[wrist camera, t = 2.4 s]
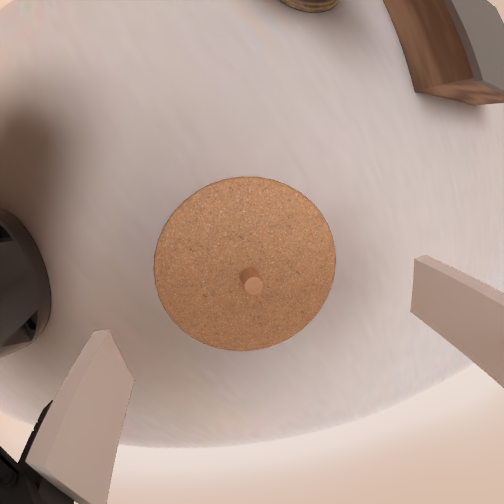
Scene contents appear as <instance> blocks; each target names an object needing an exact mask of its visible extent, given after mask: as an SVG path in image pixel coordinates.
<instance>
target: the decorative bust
mask: <svg viewBox="0 0 504 504" xmlns="http://www.w3.org/2000/svg"><path fill="white" fill-rule="evenodd" d="M281 1H282V2H284V3H285V4H286V5H288V6H290V7H293V8H296V9H299V10H302V11H306V12H322V11H326V10H329V9H331V8H333V7H335V5H336V4H337V3H338V0H281Z"/></svg>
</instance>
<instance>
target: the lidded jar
mask: <svg viewBox="0 0 504 504" xmlns="http://www.w3.org/2000/svg"><path fill="white" fill-rule="evenodd" d="M335 265H336V256H335V246H334V241H333V237H332V234H331V231H330V229H329V226H328V224H327V222H326V220H325V219H324V217H323V215H322V214H321V212H320V211H319V210H318V209H317V207H316V206H315V205H314V204H313V203H312V202H311V201H310V200H309V199H308V198H307V197H305V196H304V195H303V194H302V193H300V192H299V191H297V190H295V189H294V188H292V187H290V186H288V185H286V184H283V183H281V182H278V181H275V180H271V179H266V178H260V177H236V178H230V179H224V180H221V181H218V182H215V183H212V184H210V185H208V186H206V187H204V188H202V189H200V190H199V191H197V192H195V193H194V194H193V195H191V196H190V197H189V198H188V199H186V200H185V201H184V202H183V203H182V204H181V205H180V206H179V207H178V208H177V209H176V210H175V211H174V212H173V214H172V215H171V217H170V218H169V220H168V221H167V223H166V224H165V226H164V228H163V230H162V232H161V235H160V237H159V239H158V243H157V247H156V251H155V255H154V278H155V285H156V288H157V292H158V295H159V298H160V300H161V302H162V304H163V306H164V308H165V310H166V311H167V313H168V314H169V316H170V317H171V318H172V320H173V321H174V322H175V323H176V324H177V325H178V326H179V327H180V328H181V329H182V330H183V331H185V332H186V333H187V334H189V335H190V336H191V337H193V338H195V339H197V340H199V341H200V342H202V343H204V344H207V345H210V346H213V347H216V348H220V349H225V350H233V351H249V350H257V349H262V348H267V347H270V346H272V345H275V344H278V343H280V342H282V341H284V340H286V339H288V338H290V337H292V336H293V335H295V334H296V333H297V332H299V331H300V330H301V329H303V328H304V327H305V326H306V325H307V324H308V323H309V322H310V321H311V320H312V319H313V318H314V317H315V315H316V314H317V313H318V312H319V310H320V309H321V307H322V305H323V304H324V302H325V301H326V298H327V296H328V294H329V291H330V289H331V286H332V282H333V279H334V274H335Z"/></svg>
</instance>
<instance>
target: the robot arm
mask: <svg viewBox="0 0 504 504" xmlns="http://www.w3.org/2000/svg"><path fill="white" fill-rule="evenodd" d="M50 305H51V298H50V287H49V282H48V277H47V273H46V269H45V266H44V263H43V260H42V258H41V255H40V253H39V251H38V248H37V246H36V244H35V243H34V241H33V239H32V237H31V236H30V234H29V233H28V231H27V230H26V228H25V227H24V226H23V225H22V224H21V222H20V221H19V220H18V219H17V218H15V217H14V216H13V215H12V214H10V213H9V212H7V211H5V210H2V209H0V358H1V357H3V356H5V355H7V354H10V353H12V352H14V351H17V350H19V349H21V348H23V347H26V346H28V345H29V344H30V343H32V342H33V341H34V340H35V339H36V338H37V336H38V335H39V334H40V333H41V332H42V330H43V329H44V328H45V326H46V324H47V321H48V318H49V314H50ZM410 312H411V313H413V314H414V315H415V316H417V317H418V318H419V319H421V320H422V321H423V322H424V323H426V324H427V325H428V326H430V327H431V328H432V329H433V330H435V331H436V332H437V333H439V334H440V335H441V336H442V337H444V338H445V339H446V340H447V341H449V342H450V343H451V344H452V345H454V346H455V347H456V348H457V349H458V350H460V351H461V352H462V353H463V354H465V355H466V356H467V357H468V358H469V359H471V360H472V361H473V362H474V363H475V364H477V365H478V366H479V367H480V368H481V369H483V370H484V371H485V372H486V373H487V374H488V375H489V376H491V377H492V378H493V379H494V380H495V381H497V383H499V384H500V385H501V386H502V387H503V388H504V293H502V292H500V291H499V290H497V289H495V288H493V287H491V286H489V285H487V284H485V283H483V282H481V281H479V280H477V279H475V278H473V277H471V276H469V275H467V274H465V273H463V272H461V271H459V270H457V269H455V268H453V267H451V266H449V265H446V264H444V263H442V262H440V261H438V260H436V259H433V258H431V257H429V256H427V255H424V256H421V257H418V258H415V259H414V277H413V291H412V302H411V311H410ZM134 381H135V380H134V378H133V377H132V375H131V373H130V371H129V369H128V367H127V365H126V363H125V362H124V360H123V358H122V356H121V354H120V352H119V350H118V347H117V345H116V343H115V341H114V339H113V337H112V335H111V332H110V330H109V329H106V330H99V331H94V332H93V333H92V335H91V336H90V338H89V340H88V341H87V343H86V344H85V346H84V348H83V349H82V351H81V353H80V354H79V356H78V358H77V359H76V361H75V363H74V364H73V366H72V368H71V369H70V371H69V373H68V375H67V376H66V378H65V380H64V382H63V384H62V385H61V387H60V389H59V391H58V393H57V395H56V396H55V398H54V400H52V401H51V402H50V403H49V404H48V405H47V406H46V407H45V408H44V409H43V411H42V413H41V415H40V417H39V419H38V423H36V425H35V427H34V431H32V433H31V435H30V437H29V439H28V441H27V444H26V446H25V448H24V450H23V453H22V455H21V458H20V460H19V462H18V463H17V462H16V461H15V460H14V459H13V458H11V456H9V454H7V452H6V451H5V450H4V449H3V448H2V447H1V446H0V504H74V501H75V502H77V503H79V504H107V499H108V493H109V487H110V482H111V476H112V471H113V466H114V461H115V456H116V452H117V447H118V443H119V438H120V434H121V430H122V426H123V422H124V418H125V414H126V410H127V406H128V403H129V399H130V395H131V392H132V388H133V385H134Z"/></svg>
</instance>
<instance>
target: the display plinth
mask: <svg viewBox="0 0 504 504" xmlns="http://www.w3.org/2000/svg"><path fill="white" fill-rule="evenodd" d="M383 1H384V3H385V5H386V8H387V10H388V12H389V14H390V17H391V19H392V22H393V24H394V27H395V29H396V32H397V34H398V37H399V40H400V43H401V45H402V48H403V51H404V54H405V58H406V61H407V64H408V67H409V71H410V74H411V78H412V82H413V86H414V90H415V92H419V93H424V94H430V95H435V96H440V97H444V98H448V99H453V100H457V101H461V102H464V103H468V104H472V105H482V104H494V103H504V23H503V21H502V19H501V17H500V15H499V13H498V11H497V9H496V8H495V7H494V6H493V5H492V4H491V3H490V2H488V1H487V0H383Z"/></svg>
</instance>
